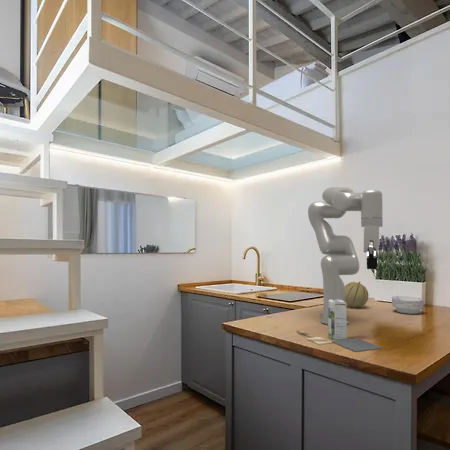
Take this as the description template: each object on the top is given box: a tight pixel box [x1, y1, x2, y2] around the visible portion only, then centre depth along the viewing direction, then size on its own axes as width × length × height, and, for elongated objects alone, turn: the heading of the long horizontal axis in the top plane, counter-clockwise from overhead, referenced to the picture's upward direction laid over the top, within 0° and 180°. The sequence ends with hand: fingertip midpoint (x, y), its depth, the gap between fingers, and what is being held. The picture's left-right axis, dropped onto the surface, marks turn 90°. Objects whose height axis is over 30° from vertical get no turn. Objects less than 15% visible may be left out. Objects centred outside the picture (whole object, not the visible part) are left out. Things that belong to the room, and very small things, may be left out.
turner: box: [296, 330, 333, 346], centre depth 134 cm, size 18×6×1 cm, turn 21°
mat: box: [330, 337, 383, 353], centre depth 125 cm, size 13×12×1 cm
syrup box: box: [327, 300, 348, 341], centre depth 135 cm, size 6×6×14 cm
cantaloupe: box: [344, 281, 369, 309], centre depth 200 cm, size 15×15×15 cm
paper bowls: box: [391, 295, 425, 315], centre depth 185 cm, size 15×15×8 cm
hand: (372, 267), depth 130 cm, fingers open, 9 cm apart
